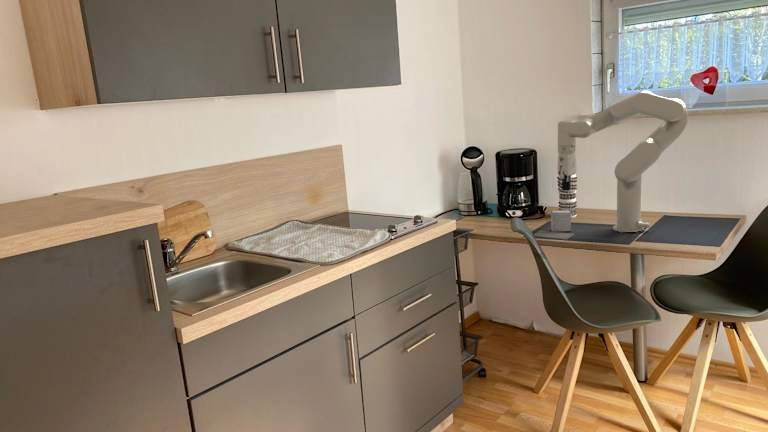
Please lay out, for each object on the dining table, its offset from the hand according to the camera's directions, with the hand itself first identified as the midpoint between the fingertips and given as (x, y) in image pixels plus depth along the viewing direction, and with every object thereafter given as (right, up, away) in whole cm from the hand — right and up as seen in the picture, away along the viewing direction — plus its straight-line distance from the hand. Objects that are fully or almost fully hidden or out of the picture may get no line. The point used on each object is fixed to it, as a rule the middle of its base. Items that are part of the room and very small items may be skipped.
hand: (566, 189), depth 272 cm
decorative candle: (+8, -12, +24) cm, 28 cm away
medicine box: (-3, -18, -2) cm, 19 cm away
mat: (-8, -20, -8) cm, 23 cm away
